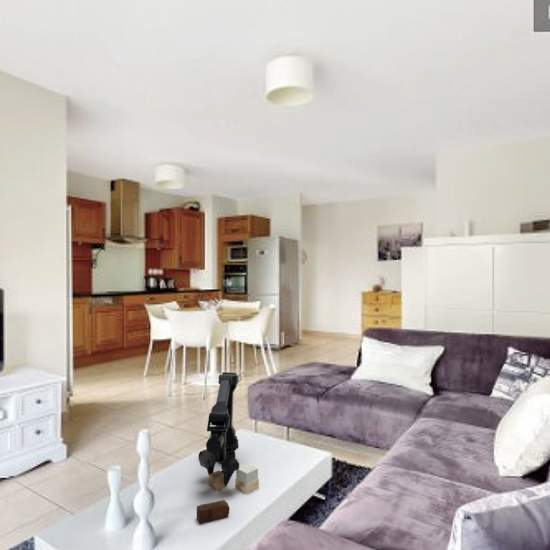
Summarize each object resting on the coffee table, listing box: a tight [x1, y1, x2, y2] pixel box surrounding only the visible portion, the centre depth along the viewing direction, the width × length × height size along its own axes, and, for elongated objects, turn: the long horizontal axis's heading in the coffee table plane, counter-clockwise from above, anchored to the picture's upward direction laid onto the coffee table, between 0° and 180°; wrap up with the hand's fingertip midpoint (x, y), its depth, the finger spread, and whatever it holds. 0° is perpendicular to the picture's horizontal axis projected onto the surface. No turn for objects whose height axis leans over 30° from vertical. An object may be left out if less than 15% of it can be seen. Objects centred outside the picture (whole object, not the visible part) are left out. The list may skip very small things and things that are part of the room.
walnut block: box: [208, 469, 228, 492], centre depth 163 cm, size 5×5×5 cm
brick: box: [196, 500, 230, 525], centre depth 143 cm, size 11×4×5 cm, turn 117°
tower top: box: [235, 463, 259, 484], centre depth 163 cm, size 6×6×4 cm
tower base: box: [234, 478, 260, 495], centre depth 162 cm, size 6×6×4 cm
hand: (218, 481), depth 163 cm, fingers open, 9 cm apart
